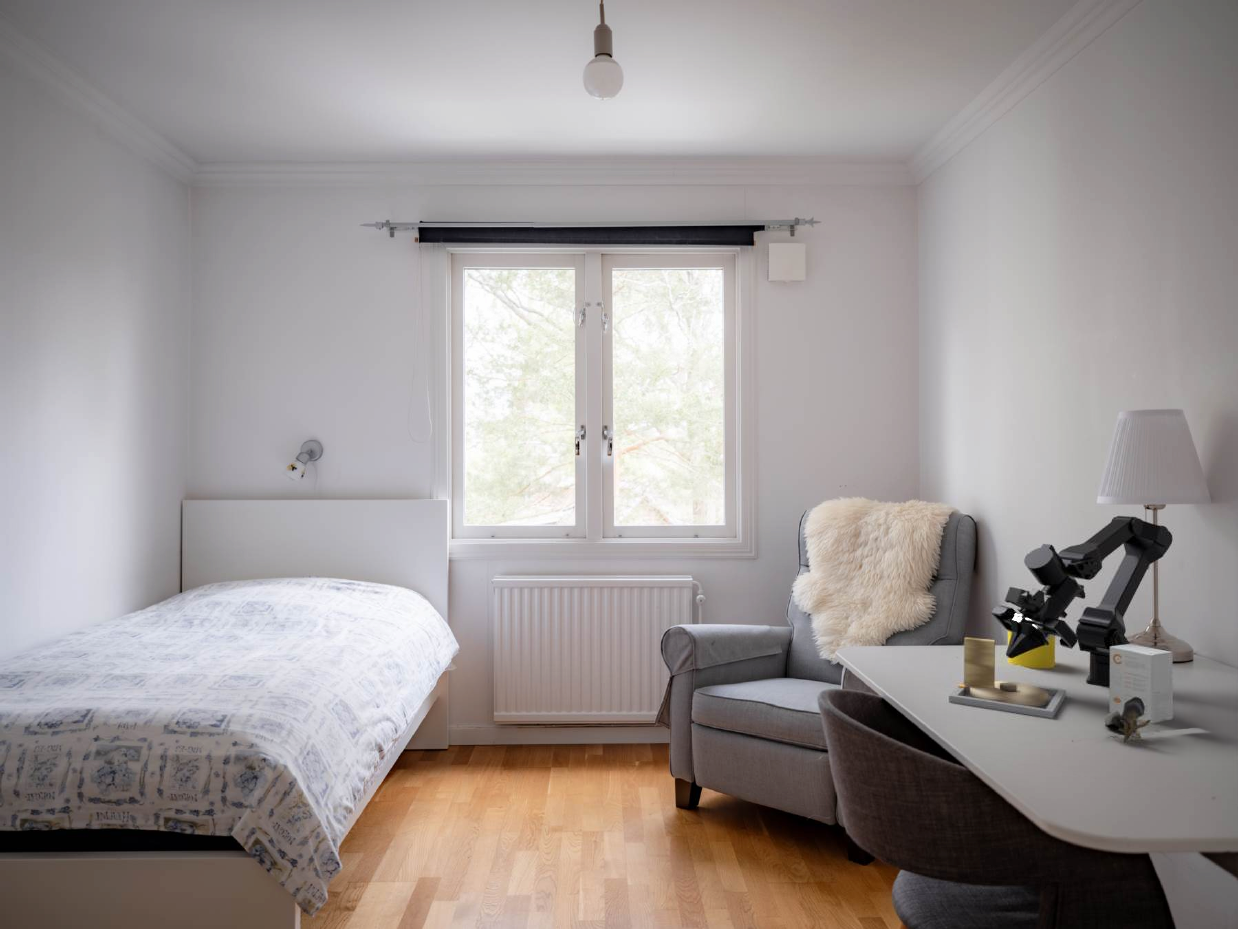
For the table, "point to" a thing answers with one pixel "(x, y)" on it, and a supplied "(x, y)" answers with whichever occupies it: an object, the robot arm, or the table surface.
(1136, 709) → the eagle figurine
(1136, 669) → the small box
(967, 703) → the bezel plate
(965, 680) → the beige disc with bar
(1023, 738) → the table surface
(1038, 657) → the tape roll
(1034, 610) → the robot arm
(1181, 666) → the table surface
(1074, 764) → the table surface
